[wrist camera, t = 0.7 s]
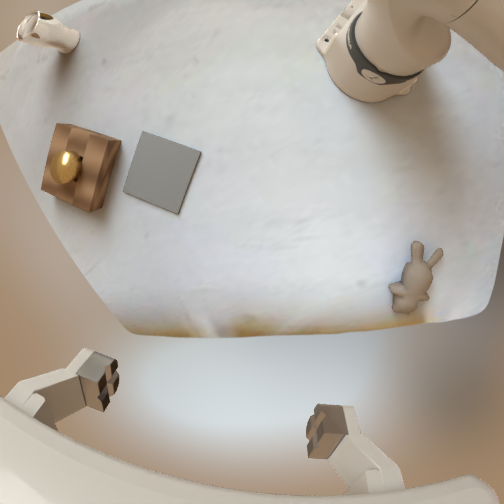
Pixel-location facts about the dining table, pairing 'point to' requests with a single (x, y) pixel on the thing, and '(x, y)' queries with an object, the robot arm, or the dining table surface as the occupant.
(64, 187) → the walnut block
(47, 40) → the beer glass
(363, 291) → the dining table surface
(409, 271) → the bunny figurine
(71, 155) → the brass knob
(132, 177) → the rubber mat
